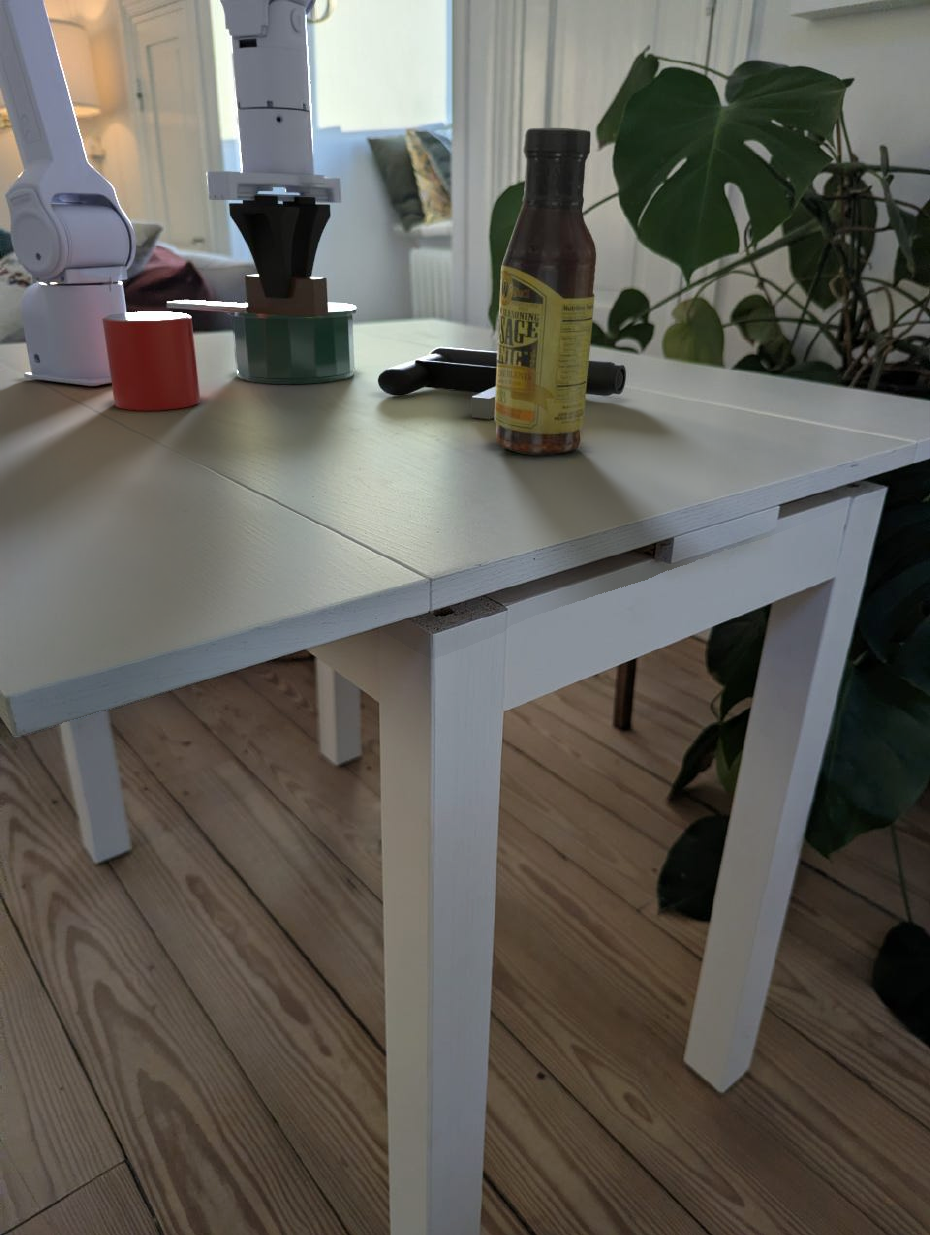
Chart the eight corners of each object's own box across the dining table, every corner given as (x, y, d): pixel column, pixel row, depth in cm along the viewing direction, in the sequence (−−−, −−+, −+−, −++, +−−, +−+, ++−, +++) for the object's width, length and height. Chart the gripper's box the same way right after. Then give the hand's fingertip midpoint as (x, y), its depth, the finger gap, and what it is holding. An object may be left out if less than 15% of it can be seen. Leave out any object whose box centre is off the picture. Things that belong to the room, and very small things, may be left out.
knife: (166, 307, 81) (162, 272, 80) (185, 305, 83) (182, 270, 82) (313, 317, 74) (311, 279, 73) (330, 315, 76) (328, 277, 75)
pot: (212, 377, 90) (206, 314, 87) (285, 362, 99) (281, 304, 97) (308, 388, 85) (304, 321, 82) (375, 371, 94) (373, 310, 92)
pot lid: (199, 320, 87) (196, 292, 86) (281, 310, 98) (279, 284, 96) (305, 328, 82) (304, 298, 81) (380, 316, 92) (379, 289, 91)
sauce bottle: (480, 441, 66) (486, 130, 58) (558, 435, 68) (574, 134, 60) (517, 462, 60) (528, 122, 52) (600, 455, 62) (624, 127, 54)
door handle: (557, 396, 69) (633, 357, 81) (344, 373, 78) (441, 341, 90) (556, 439, 70) (630, 394, 83) (348, 411, 79) (443, 375, 92)
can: (96, 405, 76) (82, 317, 73) (157, 392, 82) (147, 310, 79) (158, 413, 73) (147, 322, 71) (217, 400, 79) (209, 314, 76)
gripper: (254, 100, 63) (269, 305, 69) (368, 119, 75) (373, 293, 80) (177, 104, 66) (198, 301, 72) (299, 121, 78) (308, 289, 83)
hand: (286, 296), depth 76 cm, fingers closed on knife, 2 cm apart
